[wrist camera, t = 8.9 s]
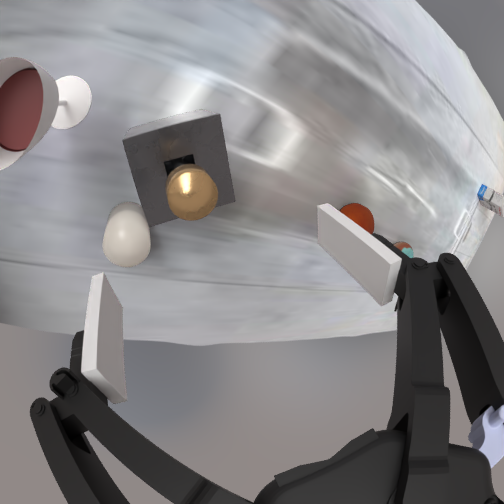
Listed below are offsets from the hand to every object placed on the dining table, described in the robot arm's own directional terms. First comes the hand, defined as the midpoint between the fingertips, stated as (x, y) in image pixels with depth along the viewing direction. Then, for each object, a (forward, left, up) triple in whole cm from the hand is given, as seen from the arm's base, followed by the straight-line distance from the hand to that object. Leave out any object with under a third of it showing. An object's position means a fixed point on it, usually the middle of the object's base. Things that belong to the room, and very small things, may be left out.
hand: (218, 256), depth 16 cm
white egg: (-10, -9, -30) cm, 33 cm away
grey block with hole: (0, 0, -30) cm, 30 cm away
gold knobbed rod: (0, 0, -28) cm, 28 cm away
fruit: (+31, -21, -31) cm, 48 cm away
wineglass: (-14, +13, -31) cm, 36 cm away
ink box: (+99, -29, -31) cm, 108 cm away
